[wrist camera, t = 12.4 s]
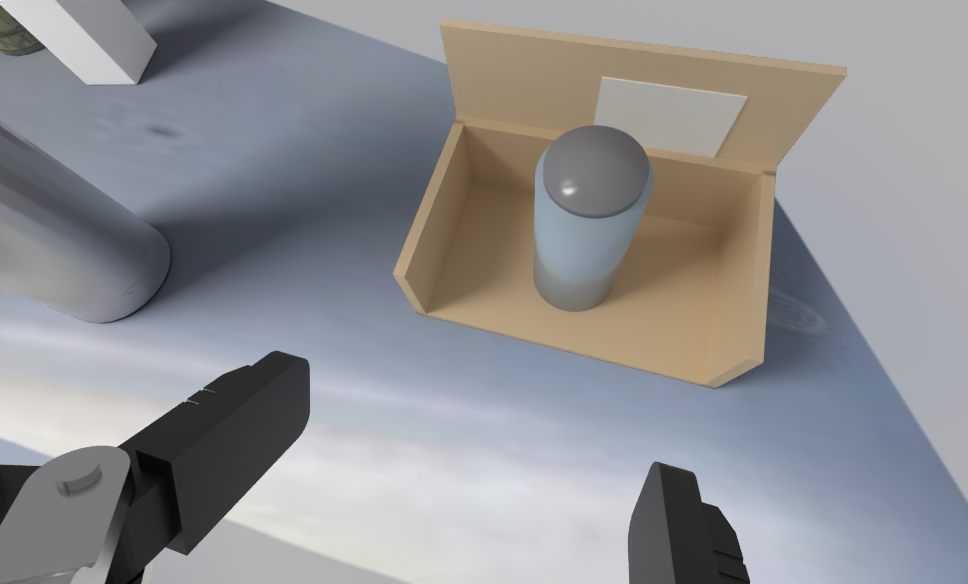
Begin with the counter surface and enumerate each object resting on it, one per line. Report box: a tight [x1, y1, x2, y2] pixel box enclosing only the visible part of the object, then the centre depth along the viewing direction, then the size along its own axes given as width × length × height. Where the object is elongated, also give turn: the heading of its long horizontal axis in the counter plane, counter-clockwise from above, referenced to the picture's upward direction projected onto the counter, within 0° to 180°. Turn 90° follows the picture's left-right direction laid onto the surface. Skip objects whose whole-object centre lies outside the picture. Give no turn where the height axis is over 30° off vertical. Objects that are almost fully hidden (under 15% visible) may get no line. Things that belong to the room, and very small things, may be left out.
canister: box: [533, 125, 654, 312], centre depth 29 cm, size 6×6×13 cm
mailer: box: [393, 19, 847, 389], centre depth 29 cm, size 22×14×14 cm, turn 73°
